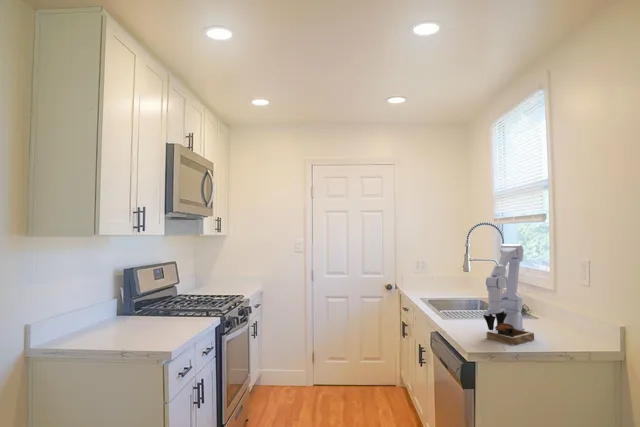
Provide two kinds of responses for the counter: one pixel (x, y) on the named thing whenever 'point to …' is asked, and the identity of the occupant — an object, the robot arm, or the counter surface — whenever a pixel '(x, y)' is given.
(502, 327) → the pottery mug
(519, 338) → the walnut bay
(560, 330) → the counter surface
